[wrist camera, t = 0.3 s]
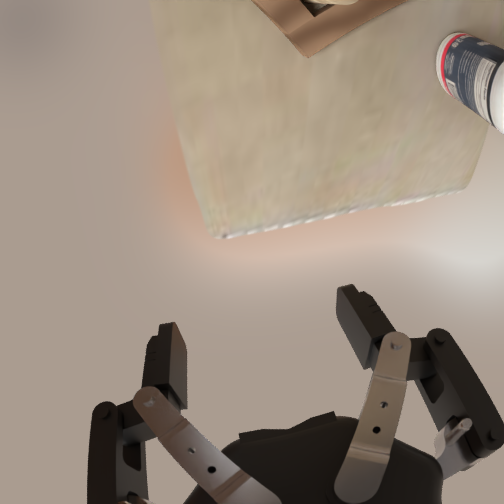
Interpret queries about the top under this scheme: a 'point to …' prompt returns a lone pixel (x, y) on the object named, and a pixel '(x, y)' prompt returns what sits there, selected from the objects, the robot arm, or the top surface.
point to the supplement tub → (473, 75)
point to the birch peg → (332, 1)
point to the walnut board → (320, 20)
